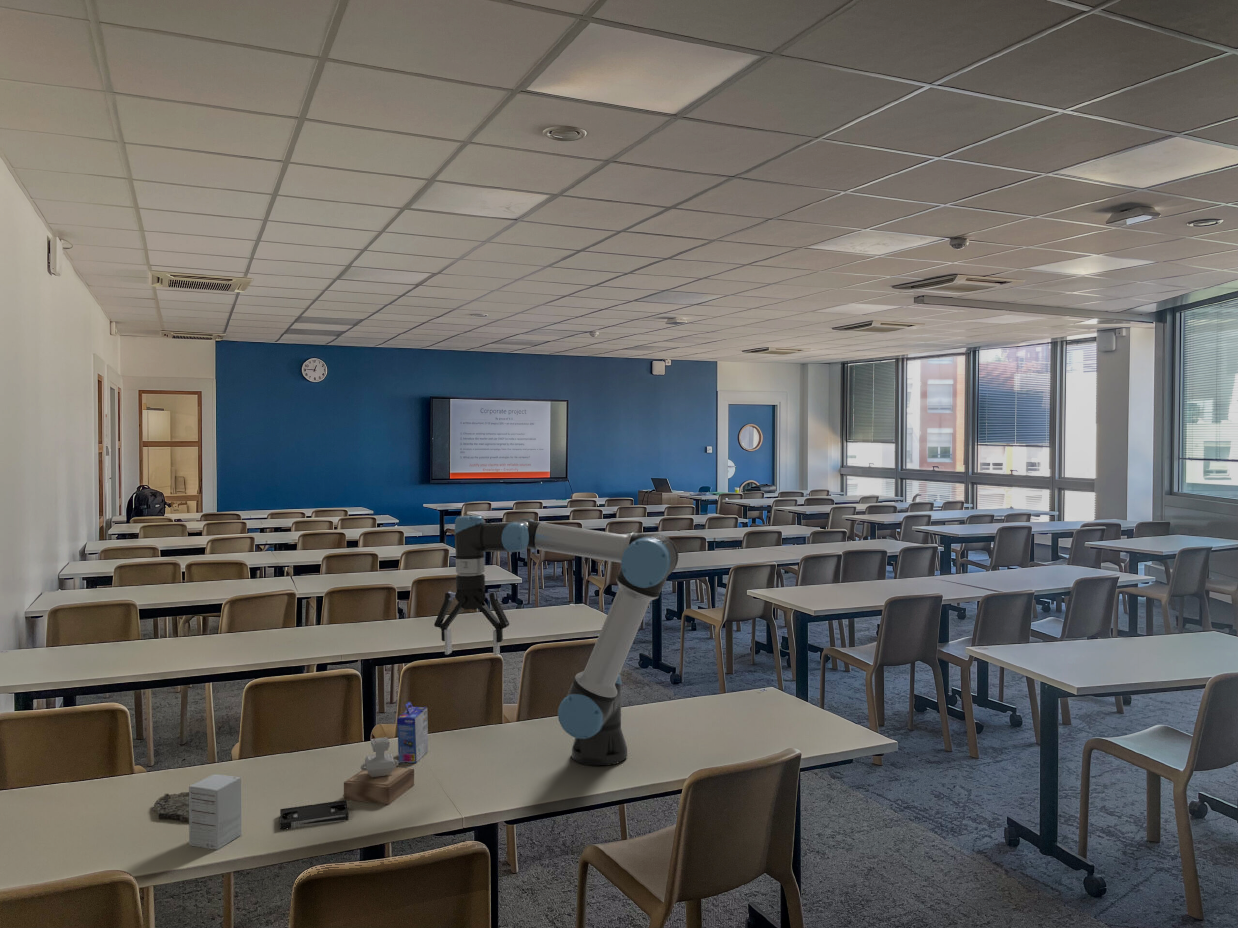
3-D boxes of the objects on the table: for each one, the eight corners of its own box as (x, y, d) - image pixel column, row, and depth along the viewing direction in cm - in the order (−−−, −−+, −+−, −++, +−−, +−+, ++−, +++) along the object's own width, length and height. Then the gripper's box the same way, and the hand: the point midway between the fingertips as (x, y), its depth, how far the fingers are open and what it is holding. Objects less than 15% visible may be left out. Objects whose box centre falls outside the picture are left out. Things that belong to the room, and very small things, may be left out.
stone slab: (178, 796, 202) (178, 784, 202) (236, 804, 197) (236, 791, 197) (135, 818, 190) (135, 805, 190) (195, 827, 185) (195, 813, 185)
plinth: (414, 784, 208) (414, 767, 208) (389, 804, 196) (389, 786, 196) (370, 780, 211) (370, 763, 211) (343, 798, 199) (343, 781, 199)
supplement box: (214, 830, 182) (214, 772, 182) (242, 835, 180) (242, 776, 180) (187, 845, 175) (187, 785, 175) (216, 850, 173) (216, 789, 173)
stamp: (397, 767, 208) (397, 733, 208) (400, 776, 202) (400, 741, 202) (359, 771, 205) (359, 737, 205) (361, 781, 199) (361, 746, 199)
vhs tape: (280, 831, 182) (280, 822, 182) (280, 817, 190) (280, 808, 190) (348, 821, 188) (348, 812, 188) (346, 808, 195) (346, 799, 195)
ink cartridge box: (409, 749, 233) (409, 697, 233) (428, 750, 232) (428, 698, 232) (396, 762, 223) (396, 708, 223) (416, 763, 222) (416, 708, 222)
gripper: (420, 575, 222) (422, 655, 221) (510, 575, 216) (512, 658, 216) (432, 572, 229) (434, 649, 229) (519, 572, 224) (521, 651, 224)
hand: (472, 653), depth 223 cm, fingers open, 13 cm apart
